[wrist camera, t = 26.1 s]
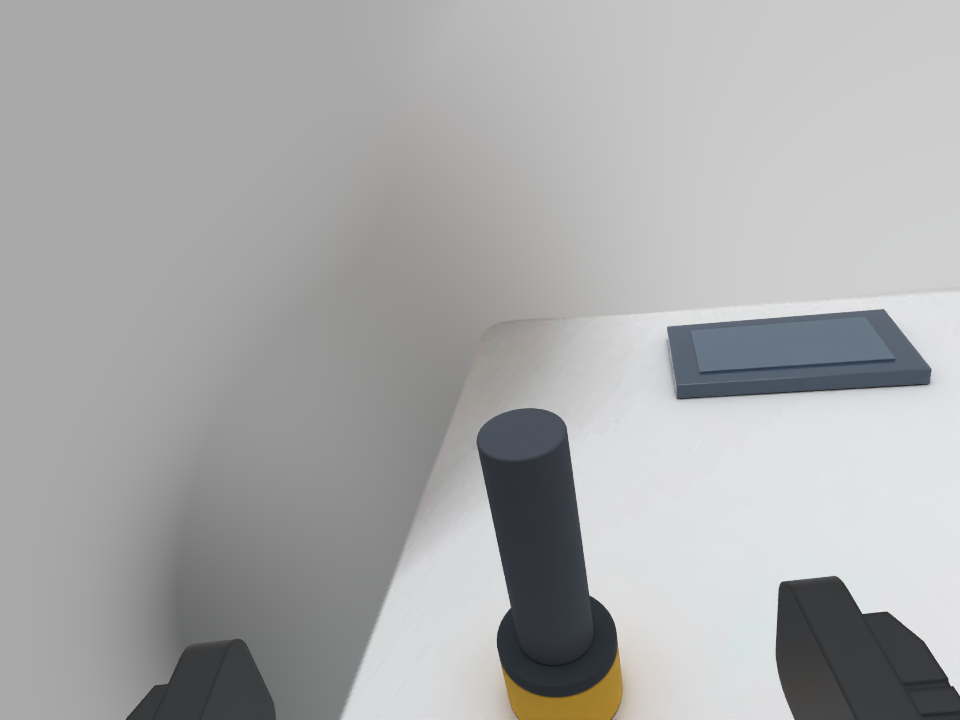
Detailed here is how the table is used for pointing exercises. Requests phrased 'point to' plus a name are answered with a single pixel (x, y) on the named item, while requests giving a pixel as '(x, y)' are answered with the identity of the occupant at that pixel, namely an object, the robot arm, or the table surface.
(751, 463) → the table surface
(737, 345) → the plate
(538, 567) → the sponge wand
